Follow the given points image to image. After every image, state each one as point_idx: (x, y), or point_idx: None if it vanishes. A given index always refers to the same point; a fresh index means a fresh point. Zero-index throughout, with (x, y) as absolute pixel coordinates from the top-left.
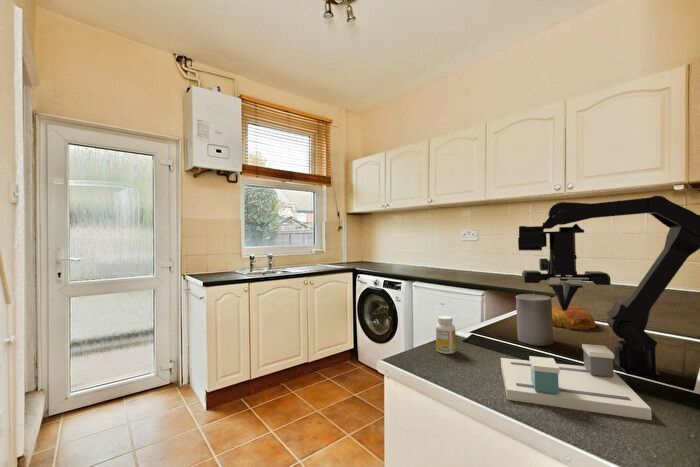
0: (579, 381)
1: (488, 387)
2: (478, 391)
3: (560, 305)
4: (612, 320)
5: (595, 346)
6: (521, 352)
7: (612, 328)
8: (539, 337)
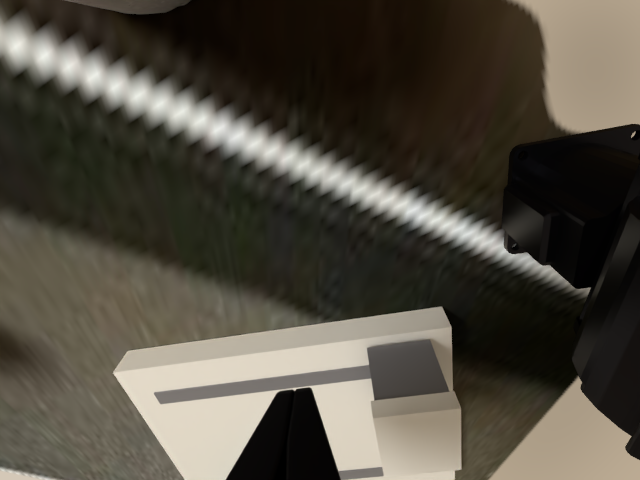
0: (341, 433)
1: (159, 459)
2: (150, 477)
3: (257, 437)
4: (636, 400)
5: (419, 427)
6: (132, 185)
7: (579, 377)
8: (151, 2)
